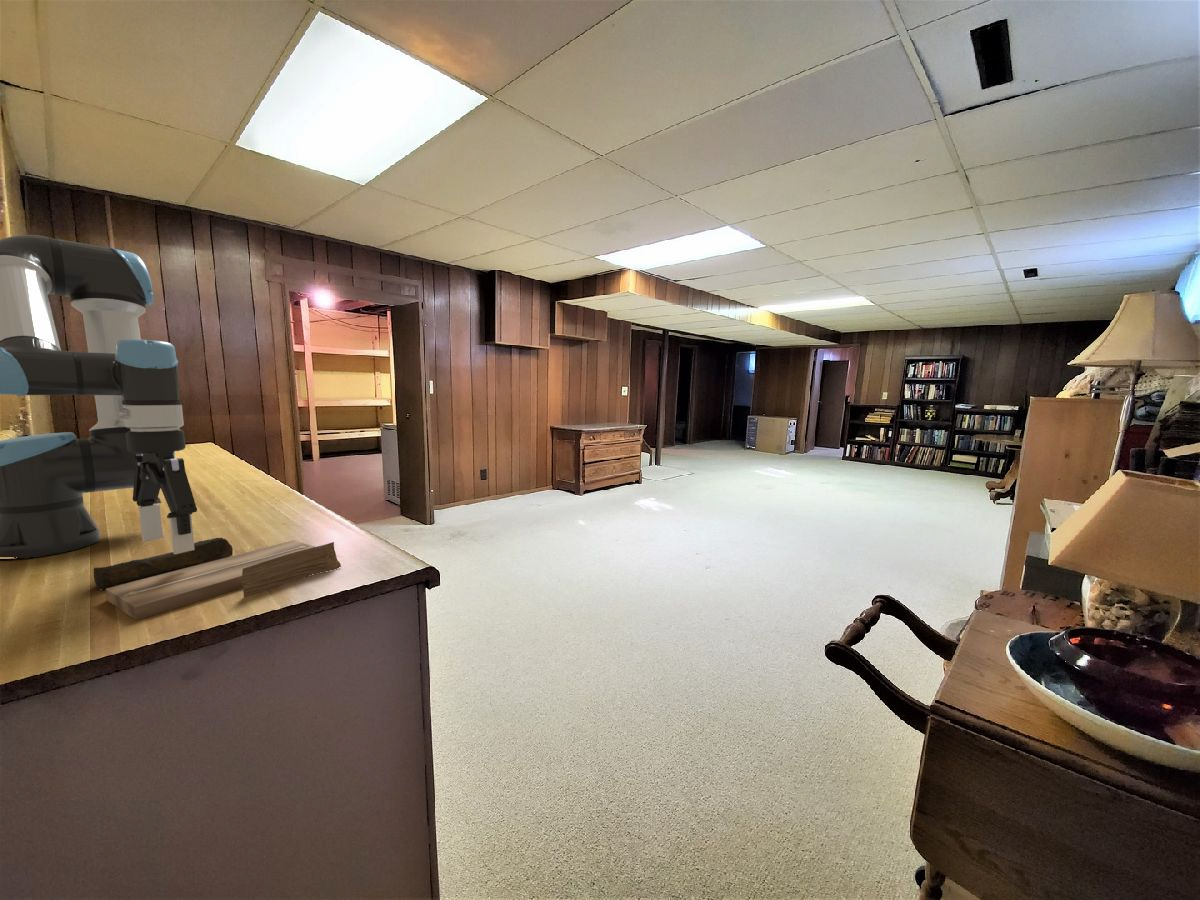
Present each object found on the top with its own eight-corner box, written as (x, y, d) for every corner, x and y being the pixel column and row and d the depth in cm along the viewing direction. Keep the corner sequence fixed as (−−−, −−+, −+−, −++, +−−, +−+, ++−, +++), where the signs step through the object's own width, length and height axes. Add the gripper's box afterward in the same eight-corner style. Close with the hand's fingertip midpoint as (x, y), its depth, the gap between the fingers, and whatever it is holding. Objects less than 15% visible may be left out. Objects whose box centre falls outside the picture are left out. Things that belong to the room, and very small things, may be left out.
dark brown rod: (98, 594, 76) (95, 567, 75) (93, 587, 78) (90, 561, 77) (237, 560, 91) (236, 538, 91) (230, 556, 94) (228, 534, 93)
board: (106, 600, 73) (105, 587, 73) (294, 549, 97) (294, 539, 97) (136, 620, 67) (134, 606, 67) (328, 560, 91) (327, 550, 91)
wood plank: (248, 599, 75) (245, 569, 74) (241, 596, 76) (239, 567, 75) (340, 568, 88) (339, 543, 87) (334, 566, 89) (333, 541, 88)
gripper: (100, 427, 84) (114, 540, 87) (155, 434, 72) (169, 564, 75) (154, 425, 91) (166, 529, 93) (213, 431, 79) (225, 550, 81)
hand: (167, 545), depth 84 cm, fingers open, 13 cm apart
